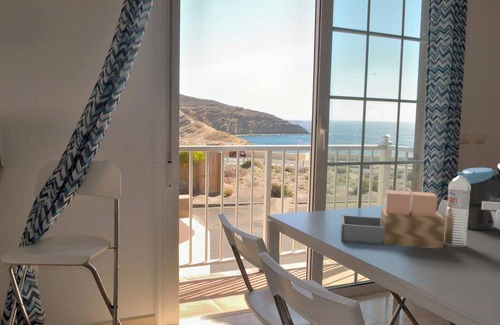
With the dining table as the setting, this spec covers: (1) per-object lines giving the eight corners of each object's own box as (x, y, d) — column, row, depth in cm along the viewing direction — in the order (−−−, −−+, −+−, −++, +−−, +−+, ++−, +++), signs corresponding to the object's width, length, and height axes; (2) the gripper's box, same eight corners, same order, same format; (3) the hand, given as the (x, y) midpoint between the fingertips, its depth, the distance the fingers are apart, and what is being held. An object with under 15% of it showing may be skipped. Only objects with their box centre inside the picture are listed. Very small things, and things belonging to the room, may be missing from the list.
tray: (379, 233, 157) (380, 217, 156) (383, 245, 142) (385, 227, 142) (340, 230, 159) (341, 214, 159) (341, 241, 145) (342, 224, 144)
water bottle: (468, 248, 141) (474, 174, 138) (446, 247, 142) (452, 173, 140) (462, 243, 148) (468, 171, 145) (441, 241, 149) (447, 170, 146)
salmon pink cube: (431, 212, 149) (432, 192, 148) (435, 217, 142) (437, 196, 141) (408, 211, 150) (410, 191, 149) (412, 215, 143) (413, 194, 143)
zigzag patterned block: (435, 238, 152) (437, 211, 151) (443, 249, 140) (445, 219, 139) (379, 234, 155) (381, 207, 154) (383, 244, 144) (385, 215, 143)
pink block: (405, 210, 150) (407, 191, 150) (409, 215, 143) (410, 194, 143) (383, 209, 152) (384, 189, 151) (386, 213, 145) (387, 193, 144)
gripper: (580, 235, 126) (502, 229, 130) (540, 216, 150) (476, 212, 154) (583, 210, 125) (504, 205, 129) (543, 195, 149) (477, 192, 153)
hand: (488, 209), depth 142 cm, fingers open, 13 cm apart
